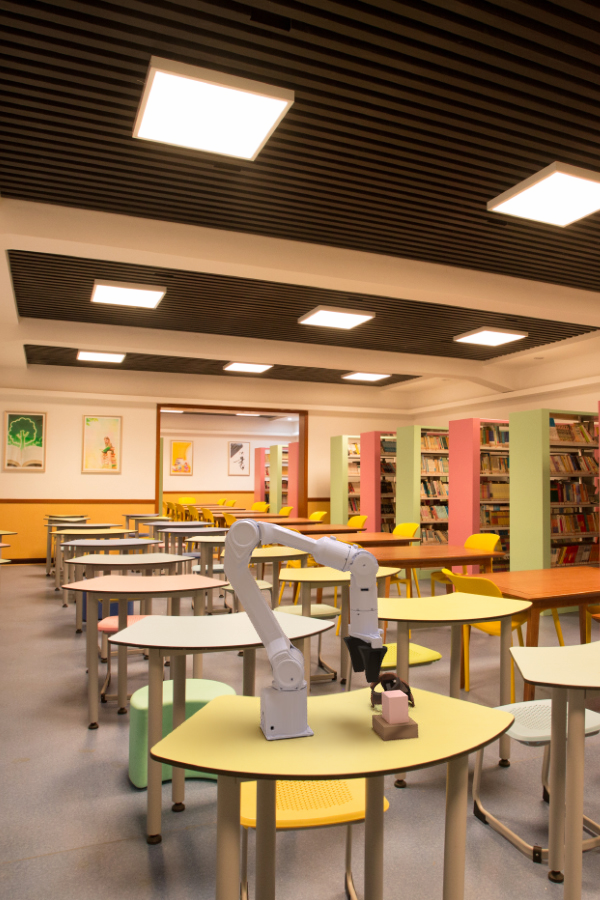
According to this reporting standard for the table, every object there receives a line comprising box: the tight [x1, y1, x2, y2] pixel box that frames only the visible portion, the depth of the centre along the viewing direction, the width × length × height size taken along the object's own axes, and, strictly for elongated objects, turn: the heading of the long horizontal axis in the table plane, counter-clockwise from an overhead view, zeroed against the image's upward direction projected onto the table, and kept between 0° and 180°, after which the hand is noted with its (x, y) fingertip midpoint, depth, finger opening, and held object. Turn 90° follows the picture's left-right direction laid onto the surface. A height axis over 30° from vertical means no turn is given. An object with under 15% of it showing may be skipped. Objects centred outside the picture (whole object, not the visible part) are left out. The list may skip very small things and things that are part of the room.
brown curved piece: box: [369, 671, 416, 708], centre depth 135 cm, size 12×10×8 cm
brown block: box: [371, 713, 419, 742], centre depth 118 cm, size 7×7×3 cm
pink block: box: [381, 690, 410, 724], centre depth 118 cm, size 4×4×5 cm
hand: (365, 676), depth 120 cm, fingers open, 7 cm apart
